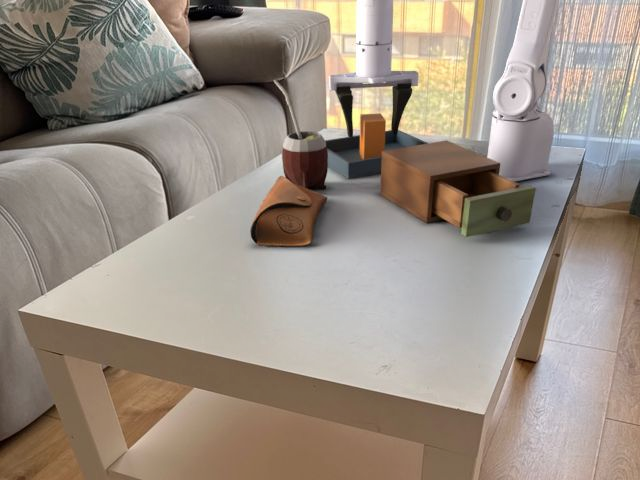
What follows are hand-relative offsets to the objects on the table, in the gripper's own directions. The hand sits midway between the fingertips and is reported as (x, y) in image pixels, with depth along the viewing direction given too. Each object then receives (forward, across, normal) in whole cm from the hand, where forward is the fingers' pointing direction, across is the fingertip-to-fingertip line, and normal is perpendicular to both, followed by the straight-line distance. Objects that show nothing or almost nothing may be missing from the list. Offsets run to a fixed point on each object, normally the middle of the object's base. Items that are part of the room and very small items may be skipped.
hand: (372, 134), depth 109 cm
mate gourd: (+4, -13, -13) cm, 19 cm away
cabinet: (+4, +6, -22) cm, 23 cm away
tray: (+4, 0, 0) cm, 4 cm away
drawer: (+3, +9, -31) cm, 33 cm away
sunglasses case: (+4, -16, -27) cm, 31 cm away
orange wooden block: (+4, 0, 0) cm, 4 cm away
